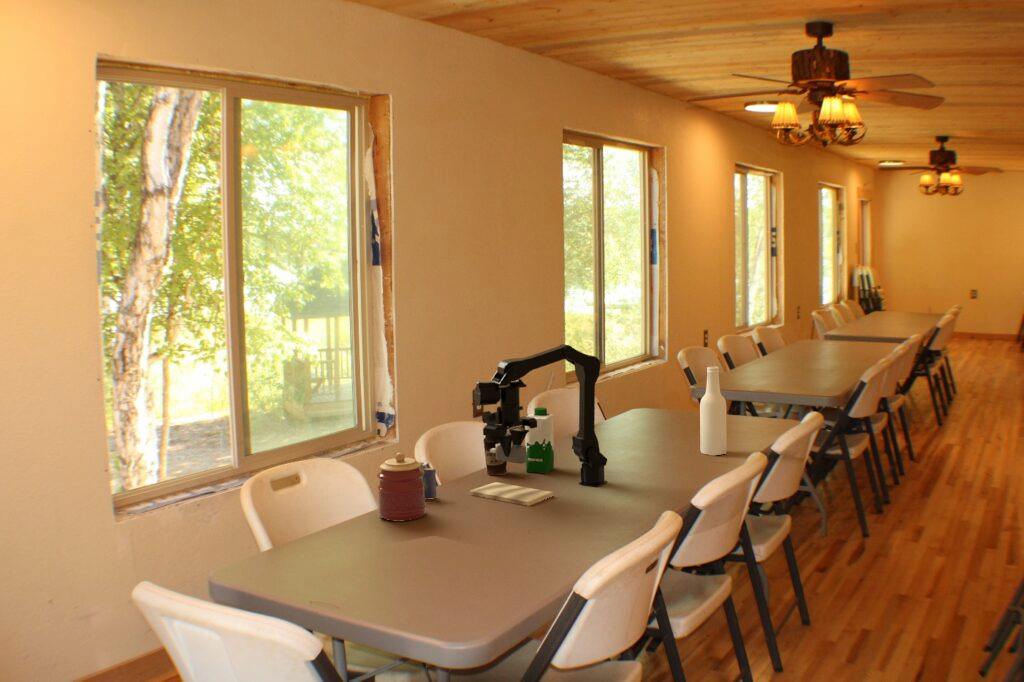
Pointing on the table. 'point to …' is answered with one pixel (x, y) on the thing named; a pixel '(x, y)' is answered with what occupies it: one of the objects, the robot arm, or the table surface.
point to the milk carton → (540, 443)
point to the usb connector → (511, 453)
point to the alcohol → (713, 416)
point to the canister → (401, 489)
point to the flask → (429, 481)
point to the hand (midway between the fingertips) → (511, 455)
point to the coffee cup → (493, 457)
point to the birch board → (511, 493)
